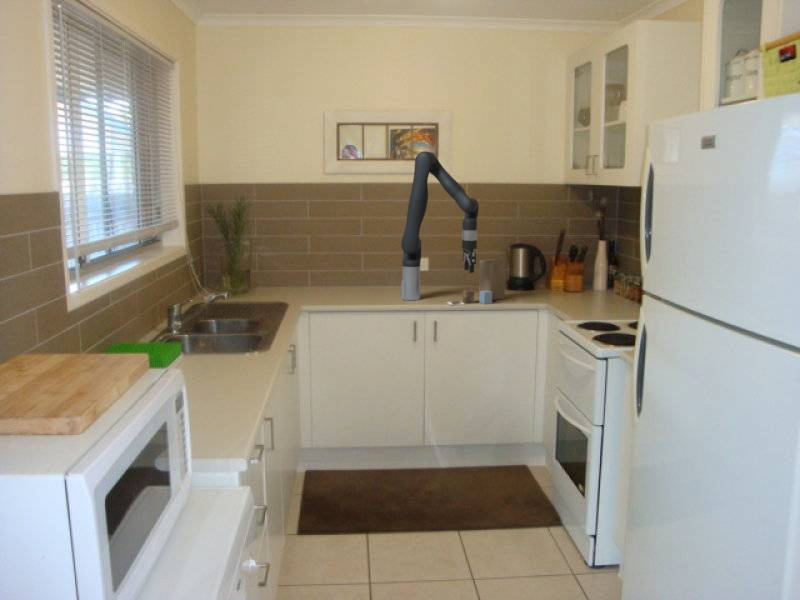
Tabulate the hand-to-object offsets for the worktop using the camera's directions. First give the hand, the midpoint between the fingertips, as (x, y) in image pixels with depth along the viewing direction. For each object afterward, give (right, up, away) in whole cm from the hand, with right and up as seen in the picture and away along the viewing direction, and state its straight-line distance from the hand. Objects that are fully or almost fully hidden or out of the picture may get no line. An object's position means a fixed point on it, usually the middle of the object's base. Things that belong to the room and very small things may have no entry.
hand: (469, 271), depth 352 cm
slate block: (+8, -16, +2) cm, 18 cm away
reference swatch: (-7, -16, +1) cm, 17 cm away
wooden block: (+13, -14, +14) cm, 23 cm away
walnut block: (0, -16, +3) cm, 16 cm away
